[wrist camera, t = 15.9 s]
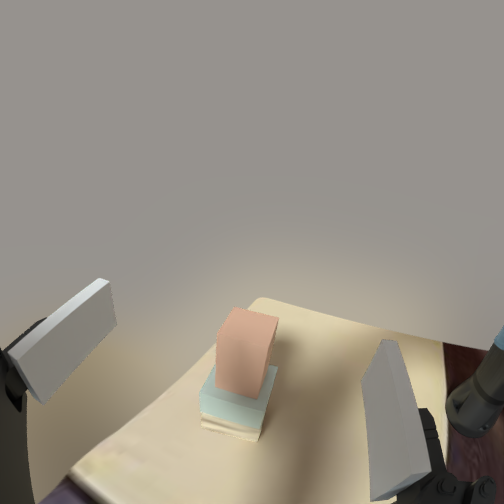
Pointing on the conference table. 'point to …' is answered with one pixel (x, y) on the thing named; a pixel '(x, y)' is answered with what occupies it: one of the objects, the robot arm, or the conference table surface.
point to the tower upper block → (236, 401)
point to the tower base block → (230, 427)
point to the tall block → (244, 351)
